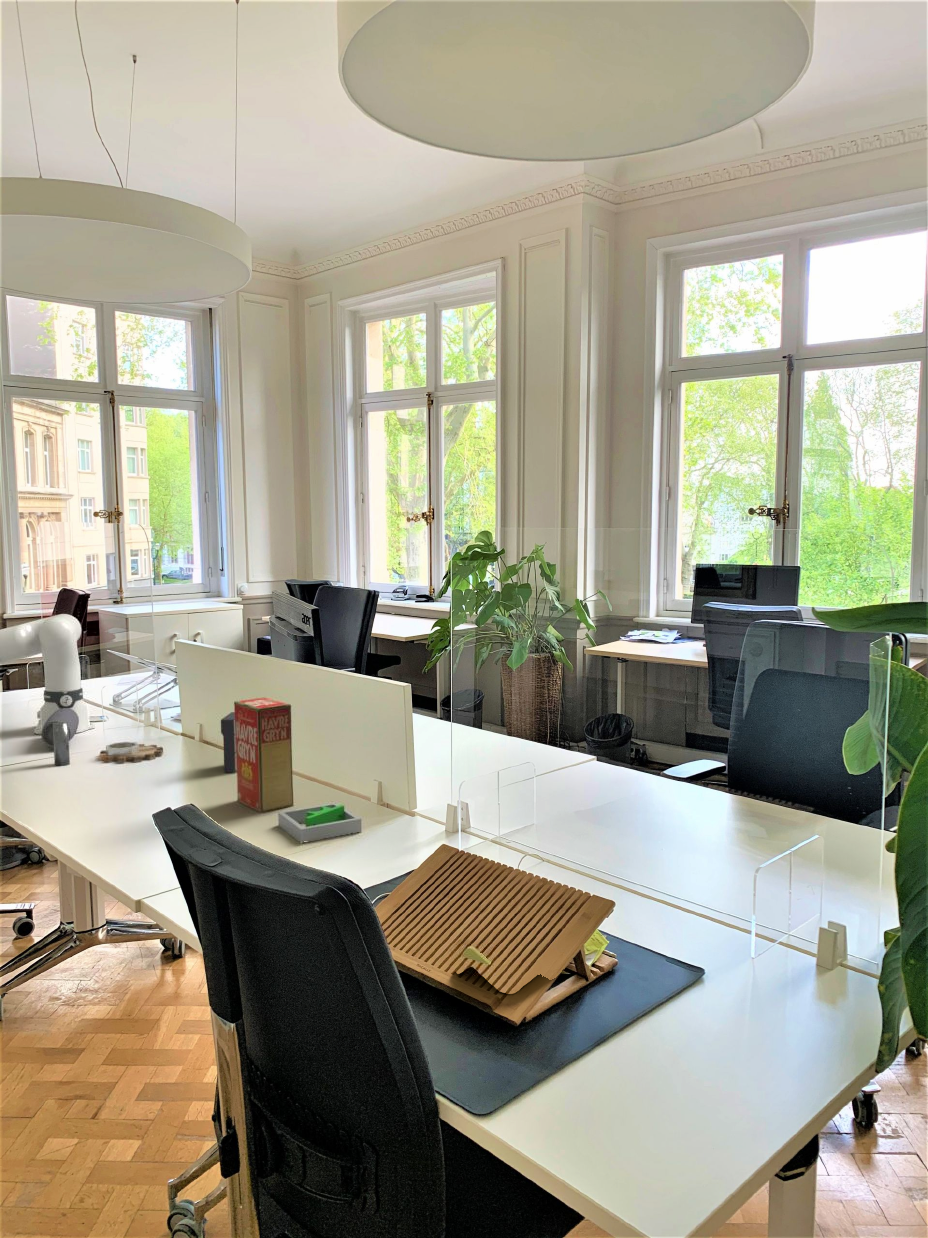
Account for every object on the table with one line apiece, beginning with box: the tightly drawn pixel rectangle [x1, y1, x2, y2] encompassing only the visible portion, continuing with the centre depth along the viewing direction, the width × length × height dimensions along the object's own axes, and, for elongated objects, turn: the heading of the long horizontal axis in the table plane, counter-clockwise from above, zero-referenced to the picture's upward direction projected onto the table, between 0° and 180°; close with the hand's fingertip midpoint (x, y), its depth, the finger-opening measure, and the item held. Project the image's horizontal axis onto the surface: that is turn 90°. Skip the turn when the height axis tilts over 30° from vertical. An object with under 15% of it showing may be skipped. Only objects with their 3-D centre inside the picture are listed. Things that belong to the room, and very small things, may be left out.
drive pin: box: [53, 722, 71, 767], centre depth 256 cm, size 4×4×12 cm
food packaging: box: [233, 697, 294, 813], centre depth 217 cm, size 13×9×25 cm
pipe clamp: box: [305, 804, 345, 827], centre depth 199 cm, size 11×4×5 cm, turn 145°
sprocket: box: [98, 741, 164, 764], centre depth 266 cm, size 18×18×4 cm
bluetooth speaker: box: [40, 708, 79, 749], centre depth 282 cm, size 23×9×10 cm, turn 17°
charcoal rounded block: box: [220, 711, 237, 774], centre depth 251 cm, size 11×4×15 cm, turn 179°
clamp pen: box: [277, 802, 362, 843], centre depth 199 cm, size 14×14×3 cm
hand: (0, 681), depth 247 cm, fingers open, 8 cm apart
